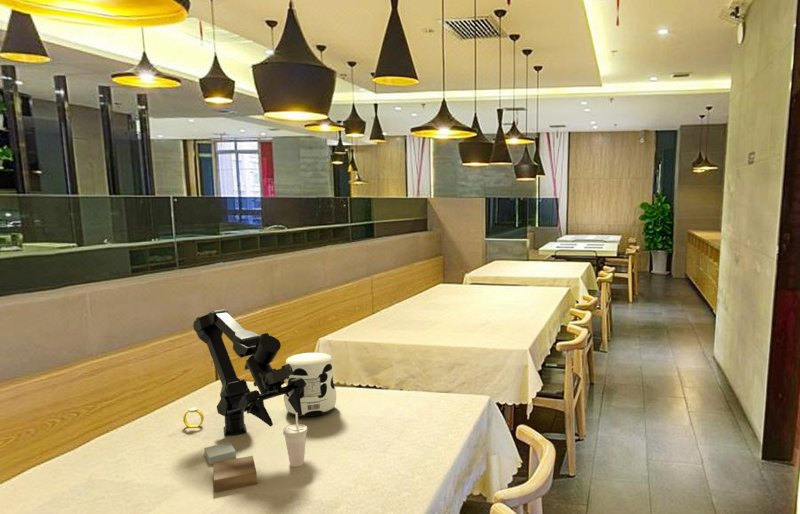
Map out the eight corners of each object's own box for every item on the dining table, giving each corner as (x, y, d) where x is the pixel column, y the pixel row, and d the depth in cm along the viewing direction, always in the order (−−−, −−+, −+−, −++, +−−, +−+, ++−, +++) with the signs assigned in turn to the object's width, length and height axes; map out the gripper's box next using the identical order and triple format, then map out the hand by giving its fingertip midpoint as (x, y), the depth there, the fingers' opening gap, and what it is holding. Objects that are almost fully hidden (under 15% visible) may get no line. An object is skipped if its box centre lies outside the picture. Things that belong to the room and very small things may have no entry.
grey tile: (204, 454, 153) (204, 447, 152) (230, 448, 156) (229, 441, 156) (209, 464, 147) (209, 457, 146) (236, 458, 150) (235, 451, 150)
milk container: (311, 398, 196) (308, 349, 195) (347, 407, 186) (345, 355, 184) (273, 414, 182) (271, 361, 181) (311, 424, 172) (308, 368, 170)
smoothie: (303, 470, 142) (301, 417, 141) (280, 468, 143) (278, 416, 142) (312, 458, 148) (310, 408, 147) (290, 457, 149) (287, 407, 148)
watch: (204, 425, 175) (204, 407, 174) (201, 429, 172) (201, 410, 171) (185, 424, 175) (185, 406, 174) (182, 428, 172) (182, 410, 171)
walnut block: (213, 473, 141) (212, 462, 141) (253, 466, 145) (252, 455, 144) (214, 492, 132) (213, 480, 132) (257, 483, 135) (256, 472, 135)
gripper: (241, 364, 143) (266, 414, 136) (300, 349, 156) (326, 395, 150) (228, 387, 150) (252, 437, 143) (286, 371, 163) (310, 416, 156)
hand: (286, 420), depth 148 cm, fingers open, 9 cm apart
